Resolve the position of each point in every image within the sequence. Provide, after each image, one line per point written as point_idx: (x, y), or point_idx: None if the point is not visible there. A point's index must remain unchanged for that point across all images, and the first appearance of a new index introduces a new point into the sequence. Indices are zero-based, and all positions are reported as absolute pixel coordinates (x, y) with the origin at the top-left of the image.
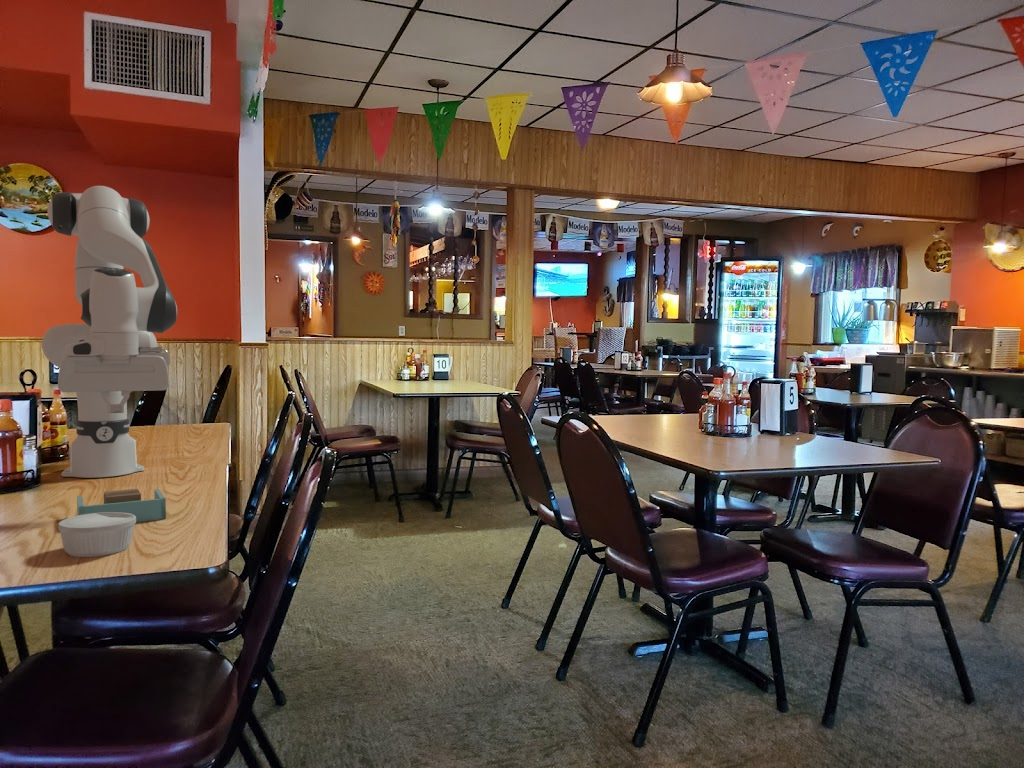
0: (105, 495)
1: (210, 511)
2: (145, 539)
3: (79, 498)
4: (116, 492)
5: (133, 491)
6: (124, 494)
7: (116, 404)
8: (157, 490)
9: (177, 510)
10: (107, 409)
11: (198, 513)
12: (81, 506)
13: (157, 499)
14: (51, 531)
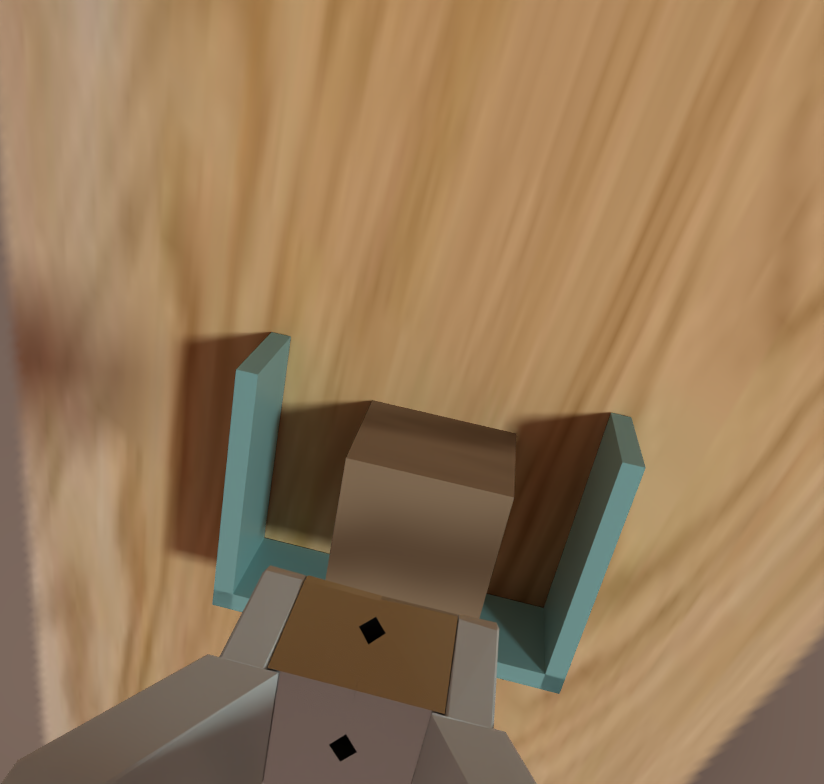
0: (331, 551)
1: (767, 633)
2: None
3: (239, 430)
4: (393, 520)
5: (470, 551)
6: (410, 589)
7: (359, 744)
8: (620, 501)
9: (670, 523)
10: (254, 590)
11: (707, 630)
12: (223, 598)
13: (525, 681)
14: (156, 518)
